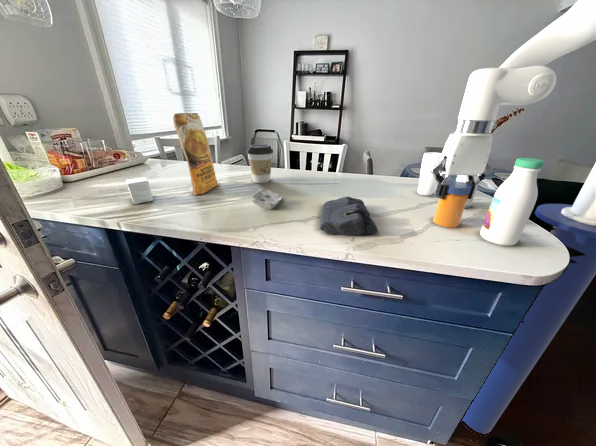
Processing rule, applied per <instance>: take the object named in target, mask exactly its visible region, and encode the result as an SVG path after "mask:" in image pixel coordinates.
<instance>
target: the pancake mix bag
mask: <svg viewBox="0 0 596 446" xmlns="http://www.w3.org/2000/svg"><path fill="white" fill-rule="evenodd" d="M172 119H173V126H174V130H175V131H176V134H177V137H178V139H179V144H180V148H181V151H182V153H183V155H184V157H185V159H186V162H187V166H188V171H189V176H190V182H191V186H192V195H194V196H197V195H198V196H199V195H203V194H206V193H207V192H210V191H211V190H213V189H215V188H217V186H219V185H218V184H219V183H218V180H217V177H216V172H215V166H214V161H213V156H212V152H211V147H210V145H209V139H208V137H207V134H206V131H205V128H204V124H203V123H202V120H201V117H200V115H199V113H197V112H192V113H188V112H179V113H174V115H173V117H172Z"/></svg>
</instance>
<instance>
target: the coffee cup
mask: <svg viewBox="0 0 596 446" xmlns="http://www.w3.org/2000/svg"><path fill="white" fill-rule="evenodd" d="M273 153H274V149H273V148H272V146H271V145H270V144H263V143H262V144H261V143H257V144H250V145H248V147H247V149H246V154H247V157H248V162H249V167H250V172H251V176H252V180H253V182H254V183H257V184H265V183H269V182H270V180H271V171H272V160H273V159H272V158H273V157H272V156H273Z"/></svg>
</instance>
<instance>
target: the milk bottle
mask: <svg viewBox="0 0 596 446" xmlns="http://www.w3.org/2000/svg"><path fill="white" fill-rule="evenodd" d="M544 163H545V161H544V160H542V159H538V158H533V157H518V158H516V159H515V162H514V166H513V171H512V172H511V174H510V175H509V176H508V177H507V178H506V179H505V180H504V181H503V182H502V183H501V184H500V185H499V186H498V188H497V190H496V191H495V193H494V195H493V197H492V199H491V201H490V204H489V208H488V209H487V213H486V215H485V218H484V221H483V223H482V226H481V229H480V231H479V234H480V237H481V238H482V239H484V240H486V241H487V242H490V243H492V244H496V245H499V246H507V247H508V246H514V245H516V244H518V242H519V241H520V238H521V236H522V234H523V232H524V230H525V227H526V225H527V223H528V221H529V218H530V216H531V215H532V212H533V210H534V207H535V206H536V202H537V200H538V196H539V195H538V194H539V190H538V182H537V181H538V174H539V172H541V169H542V168H543V166H544Z"/></svg>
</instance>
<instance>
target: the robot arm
mask: <svg viewBox="0 0 596 446" xmlns="http://www.w3.org/2000/svg"><path fill="white" fill-rule="evenodd" d="M594 41H596V0H577V1H576V2H575V3H574V4H573V5H572V6H571V7H570V8H569V9H568V10H567V11H566V12H565V13H563V14H562V15H561V16H559V17H558V18H557V19H555V20H554V21H553V22H551V23H550V24H548V25H547V26H546V27H545V28H544V29H543V28H542V30H541V31H539V32H538V33H536V35H534V36H533V37H531V38H530V39H529V40H528V41H526V42H525V43H524V44H522V45H521V46H520V47H519V48H518V49H516V50H515V51H514V52H513V53H512V54H511V55H510V56H509V57H508V58H507V59H506V60H505V61H504V62H503V63H502V64H501V65H500V66H499V67H485V68H484V67H483V68H479V69H476V70H474V71H472V72H471V73H470V75H469V76H468V80H467V83H466V87H465V91H464V94H463V98H462V102H461V106H460V109H459V113H458V117H457V121H456V125H455V128H454V132H452V133H450V134H449V136H448V138H447V140H446V142H445V144H444V147H443V149H442V152H441V153H442V155H441V158H440V161H439V163H437V164H436V165H435V166H433V167H432V168H431V169H430V171H431V173H432V174H433V176H434V178H435V179H436V181H437V182H436V183H437V184H436V189H435V197H437V198H438V199H439V198H440V199H444V198H445V195H446V191H447V187H448V185H446V183H447V182H448V181H450V180H451V178H452V177H453V176H458V175H467V177H468V182H466V183H467V184H470V185H471V186H472V187H471V191H470V194H468V198H467V199H471V198H472V195H473V192H474V189H475V186H476V185H478V186H479V185H480V182H481V181H482V180H485V178H486V177H487V176H488V175H489V174H490V173H491V172H492V171H493V167H492V166H491V165H490V164H489V162H488V161H489V157H490V153H491V150H492V142H493V134H492V131H493V130H496V129H497V127H498V124H497V122H496V120H497V116H498V114H499V110H500V108H501V106H528V105H533V104H535V103H538V102H540V101H542V100H543V99H545V98H546V97H547V96H549V95H550V93H552V91H553V90H554V88H555V86H556V83H557V75H556V73H555V71H554V70H553V69H552V68H551V67H548V66H546V65H548V64H549V63H551V62H552V61H555V60H556V59H558V58H561V57H563V56H565V55H568V54H569V53H572V52H574V51H577V50H578V49H581V48H582V47H585V46H587V45H588V44H590V43H592V42H594ZM439 171H440V174H439ZM572 205H573V206H572V207H566V208H563V209H562V211H561V213H562V215H564V216H565V217H567V218H570V219H572V220H575V221H578V222H581V223H584V224H588V225H593V226H596V162H595V163H594V165H593V167H592V168H591V170H590V172H589V174H588V176H587V178H586V180H585V182H584V184H583V185H582V187H581V189H580V191H579V192H578V195H577V196H576V198H575V200H574V201H573V204H572Z"/></svg>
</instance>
